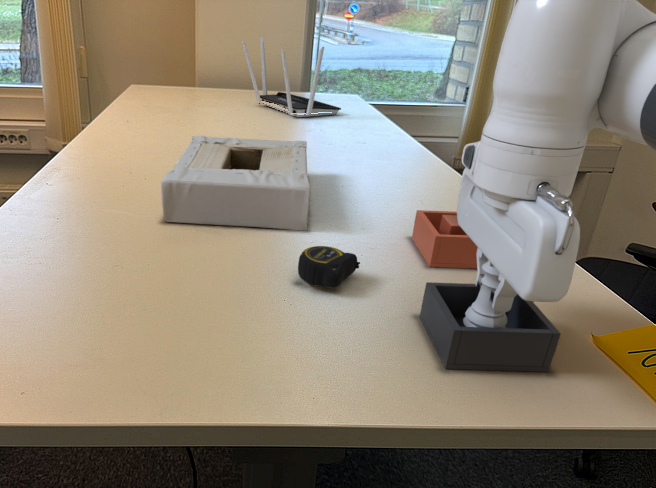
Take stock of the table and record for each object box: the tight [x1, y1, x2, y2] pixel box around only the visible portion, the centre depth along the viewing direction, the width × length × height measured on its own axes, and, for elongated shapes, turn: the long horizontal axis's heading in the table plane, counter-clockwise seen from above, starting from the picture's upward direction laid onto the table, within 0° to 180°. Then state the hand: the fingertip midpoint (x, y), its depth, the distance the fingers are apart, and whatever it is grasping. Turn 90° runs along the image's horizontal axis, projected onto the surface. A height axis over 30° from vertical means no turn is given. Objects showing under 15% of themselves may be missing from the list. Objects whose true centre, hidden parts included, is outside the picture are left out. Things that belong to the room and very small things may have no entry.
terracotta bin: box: [411, 209, 478, 269], centre depth 85 cm, size 11×11×5 cm
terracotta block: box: [439, 215, 467, 235], centre depth 85 cm, size 4×4×4 cm
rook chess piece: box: [463, 259, 508, 328], centre depth 61 cm, size 4×4×8 cm
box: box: [160, 135, 311, 231], centre depth 104 cm, size 23×8×32 cm
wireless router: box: [241, 36, 342, 118], centre depth 177 cm, size 34×23×20 cm
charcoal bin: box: [419, 281, 562, 373], centre depth 63 cm, size 11×11×5 cm
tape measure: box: [297, 245, 361, 289], centre depth 75 cm, size 7×7×4 cm
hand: (491, 298), depth 61 cm, fingers closed on rook chess piece, 3 cm apart
